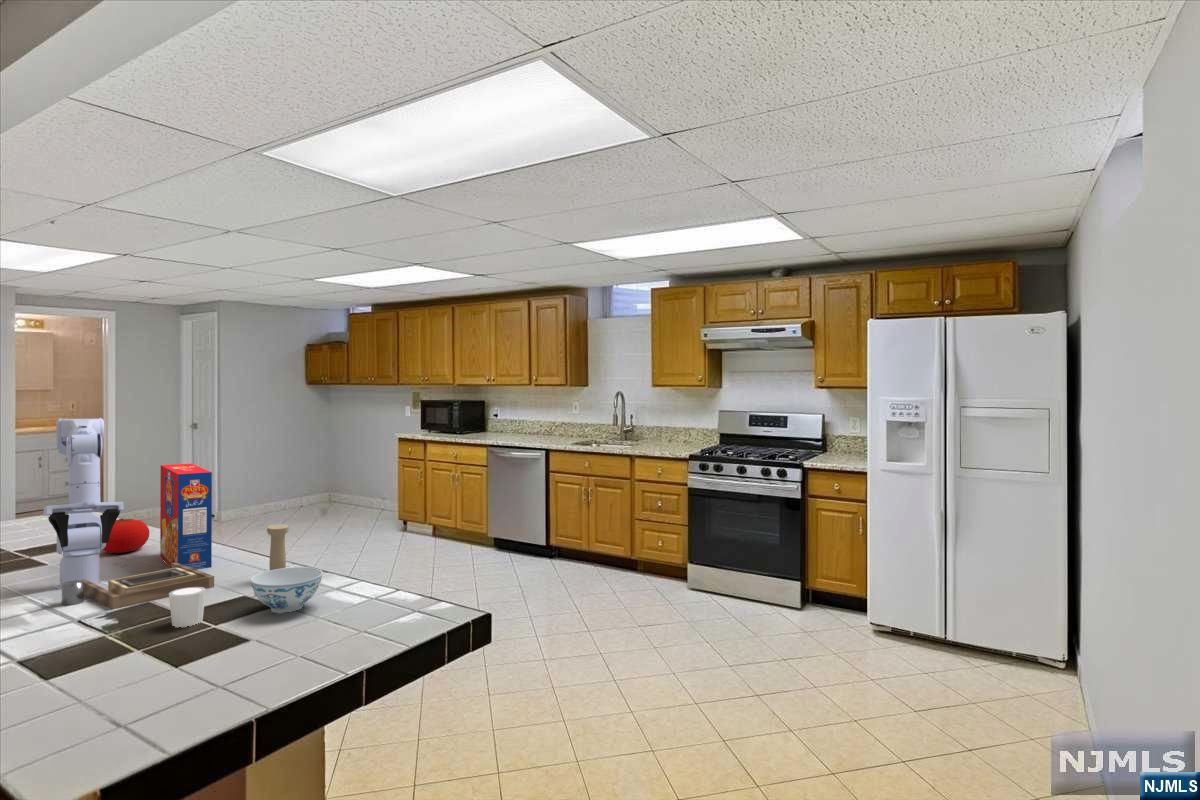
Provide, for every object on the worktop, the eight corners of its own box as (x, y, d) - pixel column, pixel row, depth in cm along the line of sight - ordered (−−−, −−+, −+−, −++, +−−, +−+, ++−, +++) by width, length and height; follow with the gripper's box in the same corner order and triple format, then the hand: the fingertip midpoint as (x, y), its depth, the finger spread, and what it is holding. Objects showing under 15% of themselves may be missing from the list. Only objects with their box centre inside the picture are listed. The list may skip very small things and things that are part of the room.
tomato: (115, 546, 211) (115, 514, 211) (157, 546, 213) (157, 514, 213) (85, 558, 197) (85, 523, 197) (131, 557, 199) (131, 522, 198)
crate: (108, 594, 158) (108, 580, 158) (177, 580, 170) (177, 567, 170) (126, 603, 151) (126, 588, 151) (196, 588, 164) (196, 574, 164)
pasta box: (160, 557, 199) (160, 465, 198) (191, 553, 204) (191, 463, 204) (177, 577, 178) (178, 474, 178) (211, 572, 183) (211, 472, 183)
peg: (59, 609, 151) (59, 583, 151) (80, 604, 155) (80, 579, 155) (65, 612, 149) (65, 586, 149) (86, 607, 152) (86, 582, 152)
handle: (269, 588, 169) (269, 529, 168) (265, 582, 174) (265, 525, 174) (289, 585, 171) (290, 527, 171) (285, 579, 177) (285, 523, 176)
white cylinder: (213, 619, 145) (213, 588, 145) (184, 630, 139) (184, 597, 139) (190, 616, 147) (190, 584, 147) (160, 626, 141) (160, 593, 141)
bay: (78, 596, 160) (78, 580, 160) (175, 577, 178) (175, 562, 178) (113, 614, 148) (113, 597, 148) (214, 592, 165) (214, 576, 165)
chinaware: (336, 603, 157) (336, 571, 157) (282, 623, 143) (282, 588, 143) (291, 595, 163) (291, 564, 163) (235, 613, 149) (235, 579, 149)
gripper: (50, 483, 144) (50, 546, 141) (128, 481, 156) (129, 539, 153) (40, 488, 148) (40, 550, 145) (116, 486, 159) (117, 542, 157)
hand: (85, 544), depth 149 cm, fingers open, 7 cm apart
